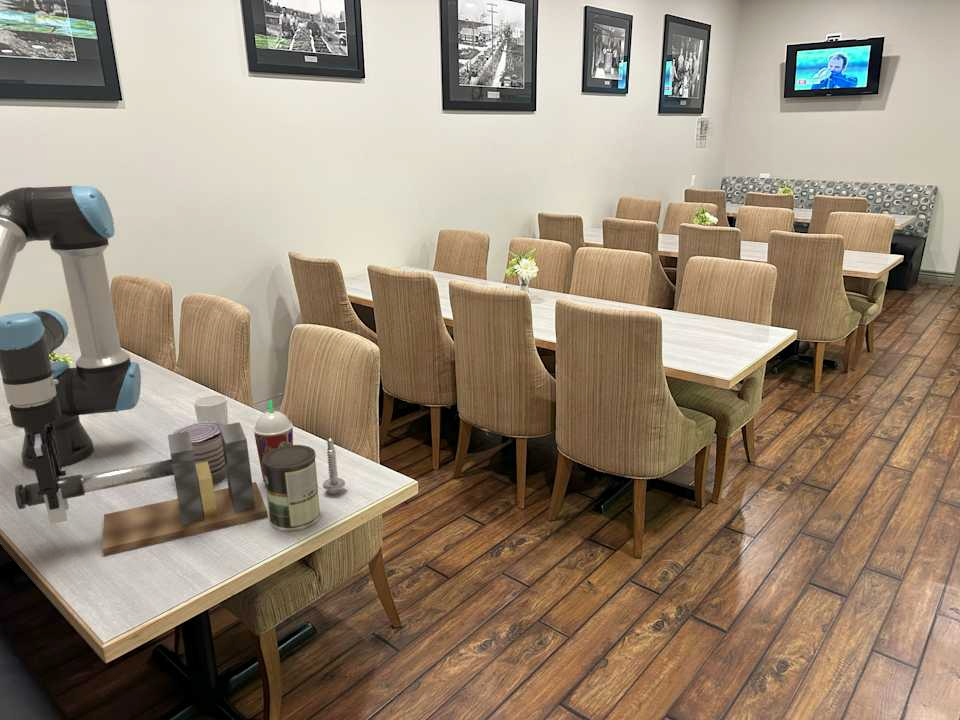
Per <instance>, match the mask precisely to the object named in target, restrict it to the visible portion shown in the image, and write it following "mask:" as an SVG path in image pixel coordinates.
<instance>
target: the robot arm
mask: <svg viewBox="0 0 960 720" xmlns="http://www.w3.org/2000/svg"><path fill="white" fill-rule="evenodd" d="M114 224H115V222H114V217H113V215H112V211H111V208H110V205H109V203H108V201H107V199H106V197H105V196H104V194H103V192H102V191H101V190H99V188H97V187H94V186H89V185H87V186H85V185H61V186H59V185H58V186H39V187H37V186H36V187H29V186H28V187H25V186H24V187H17V188H15V189H12V190H9V191H7V192H5V193H3V194H1V195H0V303H1V302H2V299H3V296H4V293H5V291H6V288H7V283H8V281H9V278H10V275H11V271H12V270H13V266H14V263H15V261H16V256H17V254H18V253H19V252H22V251H23V250H24V248H25V247H26V244H27V243H31V242H34V241H49V247H50V250H52V251H53V252H54V253H56V254H57V255H58V256H60V257H59V258H60V260H61V264H62V265H61V266H62V269H63V274H64V280H65V284H66V288H67V294H68V298H69V302H70V308H71V312H72V317H73V323H74V327H75V333H76V336H77V341H78V345H79V351H80V356H79V357H78V359H76V361H75V367H70V364H69V363H68V362H67V361H64V360H62V361H61V360H56V361H51V360H50V355H51V354H52V353H53V352H54V351H55V350H57V349H58V348H60V347H61V346H62V345H63V343H64V342H65V340H66V338H67V337H68V334H69V326H68V323H67V320H66V319H65V317H63V315H61V314H60V313H59V312H57V311H54V310H52V309H39V310H34V311H33V312H18V313H10V314H9V313H8V314H6V315H4V314H3V315H2V316H0V374H1V380H2V386H3V390H4V393H5V399H6V401H7V404H9V405H10V406H9V408H8V410H9V413H10V416H11V417H10V418H11V423H12V424H13V425H14V427H17V428H20V429H21V428H22V429H23V430H24V437H23V444H22V451H21V459H22V465H23V464H24V465H25V466H26V467H25V466H24V465H23V466H24V467H25V468H27V467H29V468H28V469H30V468H34V469H33V470H34V471H35V476H36V480H37V483H38V484H39V488H40V491H38V495H43V496H44V500H45V503H44V504H45V508H46V512H47V517H48V520H49V525H55V524H60V523H64V522H67V521H68V518H67V510H69V509H70V507H69V505H70V504H69V501H68V499H63V498H62V493H61V489H60V488H59V487H58V482H57V479H59V478H63V477H64V476H65V477H66V476H67V472H66V471H67V470H62V468H63V467H67V466H70V465H73V464H76V463H79V462H80V460H81V461H83V460H85V459H87V458H88V457H89V456H90V455H92V454H93V452H94V450H95V448H94V443H93V440H92V438H91V437H90V435H89V434H88V432H87V430H86V429H85V428H84V426H83V424H82V423H81V420H80V416H84V415H93V414H104V413H113V412H114V413H118V412H122V411H128V410H133V409H134V408H135V407H137V406H138V403H139V400H140V396H141V388H142V385H141V384H142V376H141V375H142V372H141V367H140V364H139V363H138V362H135V361H131V358H130V357H131V356H130V354H129V353H128V352H126V351H124V350H123V349H122V347H121V342H120V337H119V331H118V325H117V321H116V320H117V319H116V316H115V310H114V305H113V304H114V303H113V299H112V294H111V290H110V289H111V288H110V283H109V279H108V273H107V268H106V267H107V266H106V261H105V256H104V252H105V250H106V249H107V248H108V247H109V245H110V244H109V239H111V238H113V237H114V235H115V225H114ZM75 462H76V463H75ZM69 464H70V465H69ZM66 465H67V466H66ZM62 466H63V467H62Z"/></svg>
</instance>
